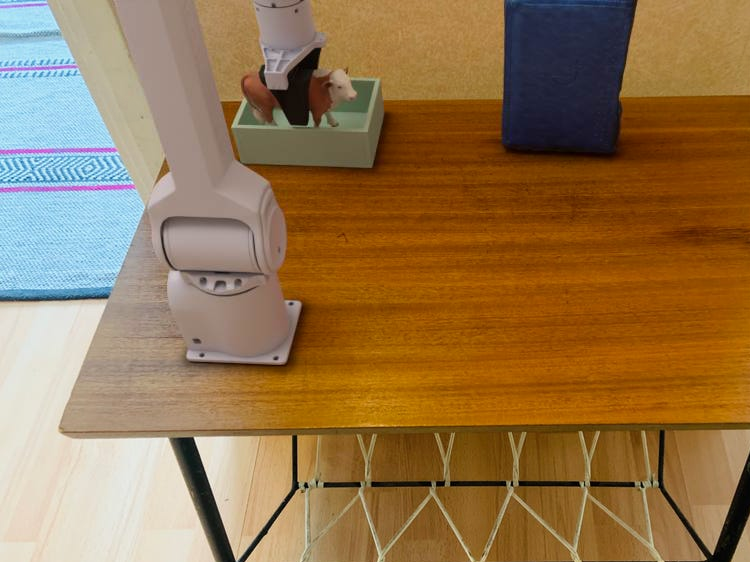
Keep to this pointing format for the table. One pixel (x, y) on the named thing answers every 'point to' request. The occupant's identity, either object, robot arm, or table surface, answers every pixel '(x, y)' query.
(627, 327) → the table surface
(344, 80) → the bull figurine
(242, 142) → the bin
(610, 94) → the book
